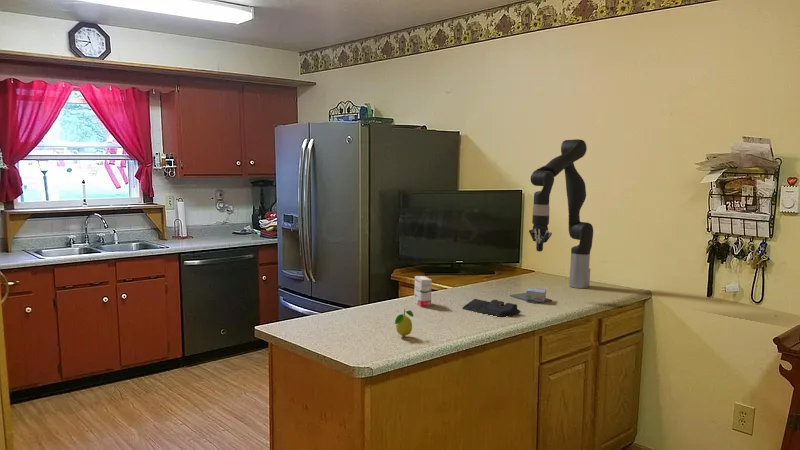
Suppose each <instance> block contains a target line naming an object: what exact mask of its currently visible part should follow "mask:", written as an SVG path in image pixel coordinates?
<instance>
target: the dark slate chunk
mask: <svg viewBox="0 0 800 450" xmlns="http://www.w3.org/2000/svg"><path fill="white" fill-rule="evenodd" d="M462 310H464V311H465V310H466V311H470V312H472V311H473V313H476V312H477V314H480V313H482V315H485V314H488V315H487V316H489V315H493V316H497V317H506V316H509V317H513V315H514V316H517V315H518V314H519V313H520V312H521V310H520V309H518V305H517V303H512V302H506V303H505V302H504V301H503V300H502V301H501V300H500V301H499V300H497V299H492V300H491V301H487V300H482V299H477V298H474V299H472V300H471V301H469V302H468V303H467V304H464V305H463V307H462ZM516 314H517V315H516ZM493 316H492V317H493ZM497 317H496V318H497ZM506 318H507V317H506Z"/></svg>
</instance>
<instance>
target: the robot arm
mask: <svg viewBox="0 0 800 450" xmlns="http://www.w3.org/2000/svg"><path fill="white" fill-rule="evenodd" d="M587 149H588V147H587V143H586V142H585V140H583V139H577V138H576V139H566V140H565V139H564V140H563V141H562V142H561V145H560V153H561V154H560V155H559V156H556V157H554V158H552V159H551V160H550V161H549V162H547V163H546V164H545V165H543V166H541V167H538V168H536V169H535V170H534V171H533V172H532V173H531V175H530V182H531V184H532V185H533V186H536V187H542V188H541V190H539V191H538V190H537V191H535V192H534V193H533V207H532V216H531V217H532V218H531V219H532V220H531V222H532V224H533V225H532V229H529V230H528V233H529V235H530V237H531V239H532V241H533V242H535V244H536V245H535V246H536V252H543V250H544V243H547V242H548V241H549V239H550V238H551V237H552V232H550V231H549V227H548V225H549V224H550V197H551V192H552V189H553V185H554V183H555V177H558V175H559V174H560V173H561V172H562V171H564V177H565V189H566V197H567V208H568V209H567V211H568V234H569V237H570V238H571V239H573V240H576V241H579V244H578V245H575V246H572V247H571V250H570V267H569V283H568V285H569V287H570V288H576V289H587V288H589V287H590V284H591V283H590V282H591V281H590V280H591V268H590V259H591V250H592V247H593V240H594V239H593V238H594V226H593V224H591V223H590V222H583V221H581V219H580V218H581V217H580V212H581V209H582V207H583V205H584V203H585V201H586V198H587V190H586V189H587V187H586V183H585V180H584V179H583V177H582V176H581V175H580V173H579V172H578V170H577V168H576V167H575V162H576V161H578V160H580V159H581V158H583V157H584V156H585V155H586V154H587Z"/></svg>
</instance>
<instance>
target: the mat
mask: <svg viewBox="0 0 800 450" xmlns="http://www.w3.org/2000/svg"><path fill="white" fill-rule="evenodd" d="M509 297H513V298H515V299H518V300H521V301H524V302H527V303H531V304H540V303H547V302H548V303H549V302H552V301H553V299H551V298H550V299H549V298H547V297H546V299H545V301H544V302H537V301H527V300H526V292H522V293H514V294H513V293H512V294H509Z"/></svg>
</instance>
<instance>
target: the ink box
mask: <svg viewBox="0 0 800 450" xmlns="http://www.w3.org/2000/svg"><path fill="white" fill-rule="evenodd" d="M432 281H433V279H431V278H429V277H428V276H425V275H414V294H413V296H414V298H413V303H414V304H416V305H417V306H419V307H420V308H424V307H426V308H427V307H432V284H433V283H432Z"/></svg>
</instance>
